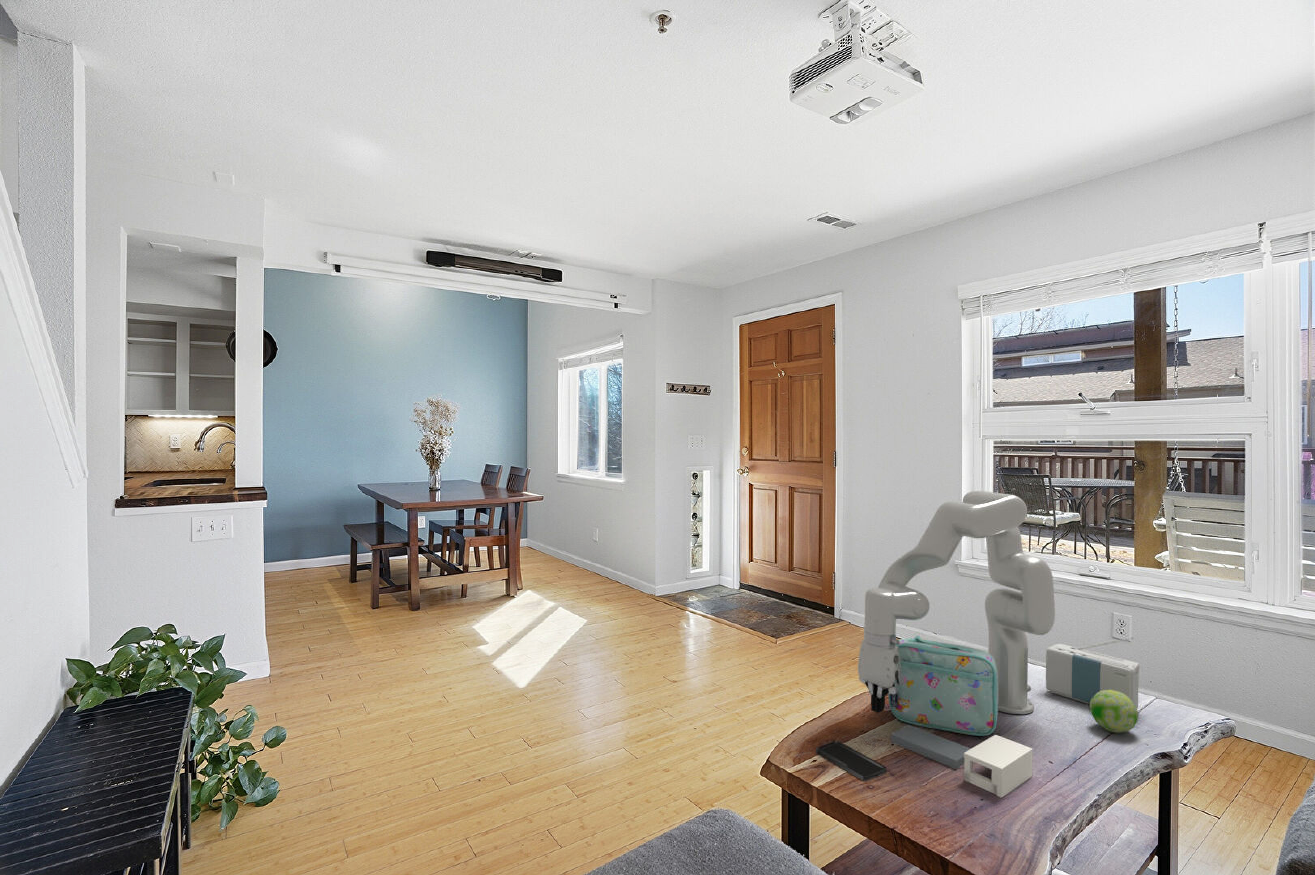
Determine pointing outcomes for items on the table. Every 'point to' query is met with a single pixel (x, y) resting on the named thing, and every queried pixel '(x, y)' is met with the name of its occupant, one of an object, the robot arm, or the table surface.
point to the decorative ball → (1114, 711)
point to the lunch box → (946, 687)
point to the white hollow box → (999, 764)
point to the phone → (851, 760)
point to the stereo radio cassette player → (1089, 673)
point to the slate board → (930, 746)
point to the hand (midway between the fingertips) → (877, 710)
